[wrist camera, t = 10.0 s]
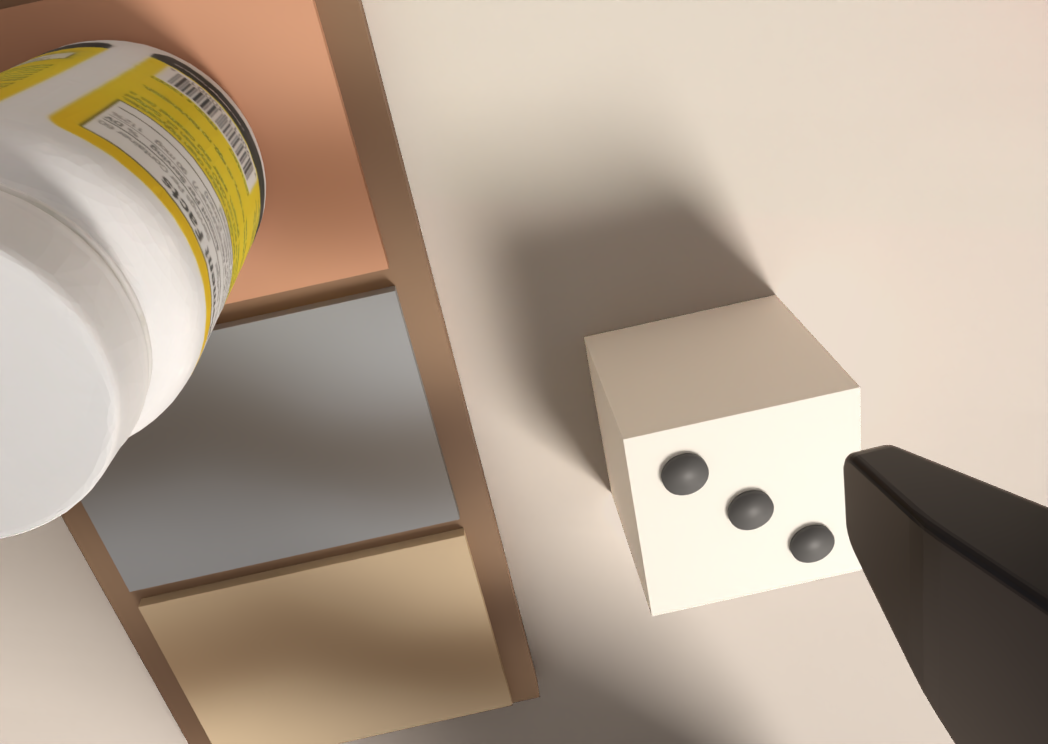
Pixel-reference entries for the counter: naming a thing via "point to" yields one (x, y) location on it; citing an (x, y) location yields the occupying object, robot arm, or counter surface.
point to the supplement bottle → (109, 255)
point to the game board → (302, 421)
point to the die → (726, 451)
